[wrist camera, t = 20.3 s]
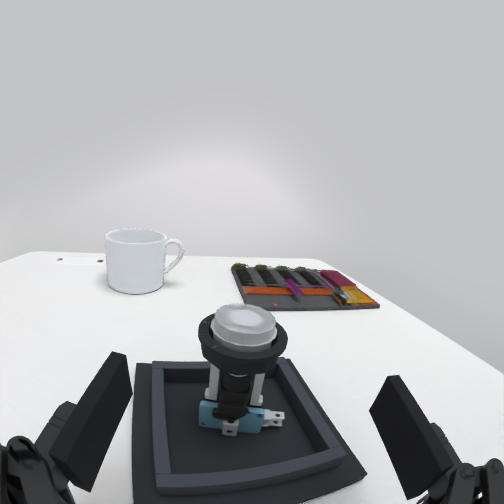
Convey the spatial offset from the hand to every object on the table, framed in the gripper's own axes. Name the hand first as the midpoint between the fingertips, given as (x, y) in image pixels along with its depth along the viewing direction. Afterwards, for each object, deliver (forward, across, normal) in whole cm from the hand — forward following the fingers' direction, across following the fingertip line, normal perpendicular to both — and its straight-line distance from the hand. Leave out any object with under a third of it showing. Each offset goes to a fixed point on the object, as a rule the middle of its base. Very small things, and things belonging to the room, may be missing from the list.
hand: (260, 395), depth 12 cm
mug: (+31, -17, -9) cm, 37 cm away
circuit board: (+38, +11, -9) cm, 40 cm away
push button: (+4, 0, -8) cm, 10 cm away
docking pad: (+4, -1, -9) cm, 10 cm away
